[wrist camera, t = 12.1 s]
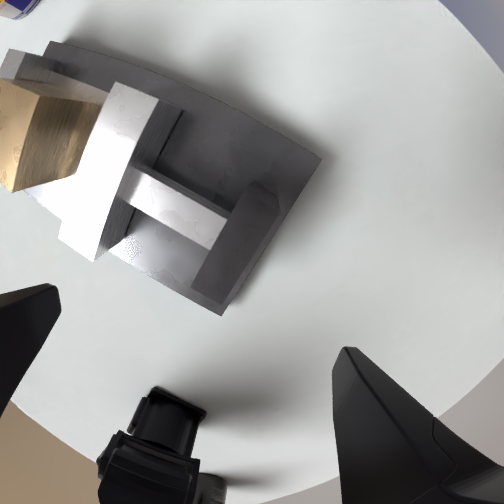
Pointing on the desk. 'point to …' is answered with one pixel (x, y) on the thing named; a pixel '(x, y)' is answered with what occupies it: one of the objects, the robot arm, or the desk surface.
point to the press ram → (157, 194)
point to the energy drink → (16, 8)
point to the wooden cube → (38, 132)
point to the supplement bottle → (210, 490)
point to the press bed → (173, 159)
